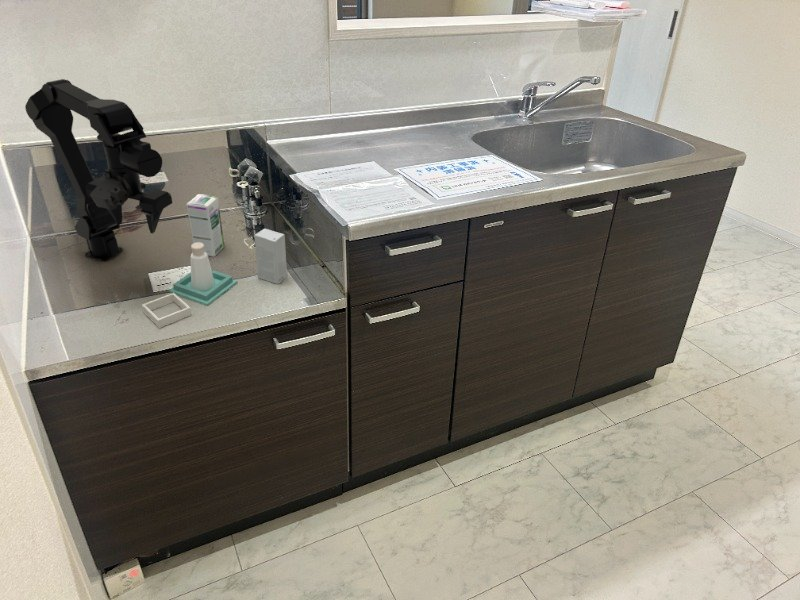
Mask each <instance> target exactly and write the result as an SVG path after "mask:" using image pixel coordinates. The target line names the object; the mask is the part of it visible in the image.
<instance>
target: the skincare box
mask: <svg viewBox="0 0 800 600" xmlns="http://www.w3.org/2000/svg"><path fill="white" fill-rule="evenodd" d="M253 236H254V245H255V247H254V248H255V257H256V258H255V259H256V269H257V270H256V271H257V277H258V279H261V280H264V281H268V282H270V283H273V284H276V285H278V284H280V283H281V282H282V281H284V280H285V279H286V278H287V277H288V271H287V254H286V249H287V248H286V235H285V234H284V233H281V232H277V231H274V230H271V229H268V228H263V229H261V230H260V231H258V232H257V233H255V234H254V235H253Z"/></svg>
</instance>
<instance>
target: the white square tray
mask: <svg viewBox="0 0 800 600" xmlns="http://www.w3.org/2000/svg"><path fill="white" fill-rule="evenodd" d="M172 303H175V304H176V305H177V306H178V307H179V306H180V307H179V308H180V309H179V310H177V311H175V312H172V313H170V314H167V315H165V316H162V317H160V318H159V317H158V316H157V315H156V314H155V313H154V312H153V311H154V310H156V309H159V308H161V307H164V306H166V305H169V304H172ZM141 306H142V311H143V313H144V314H145V316H146V317H148V318H149V319H150V320H151V321H152V322H153V323H154V325H156V327H158V328H159V329H161V328H163V327H165V325H166V326H168V325H170V323H171V324H172V323H175V322H178V321H180V320H182V318H183V319H185V318H188V317H189V316H192V310H191V307H190V306H189V305H188V304H187V303H186V302H185V301H184V300H183V299H181V298H180V296H178V295H176V294H175V293H169V294H167V295H164V296H162V297H158V298H156V299H154V300H151V301H147V302H145V303H142V304H141ZM187 316H188V317H187ZM184 317H185V318H184ZM179 319H180V320H179ZM177 320H178V321H177Z"/></svg>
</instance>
